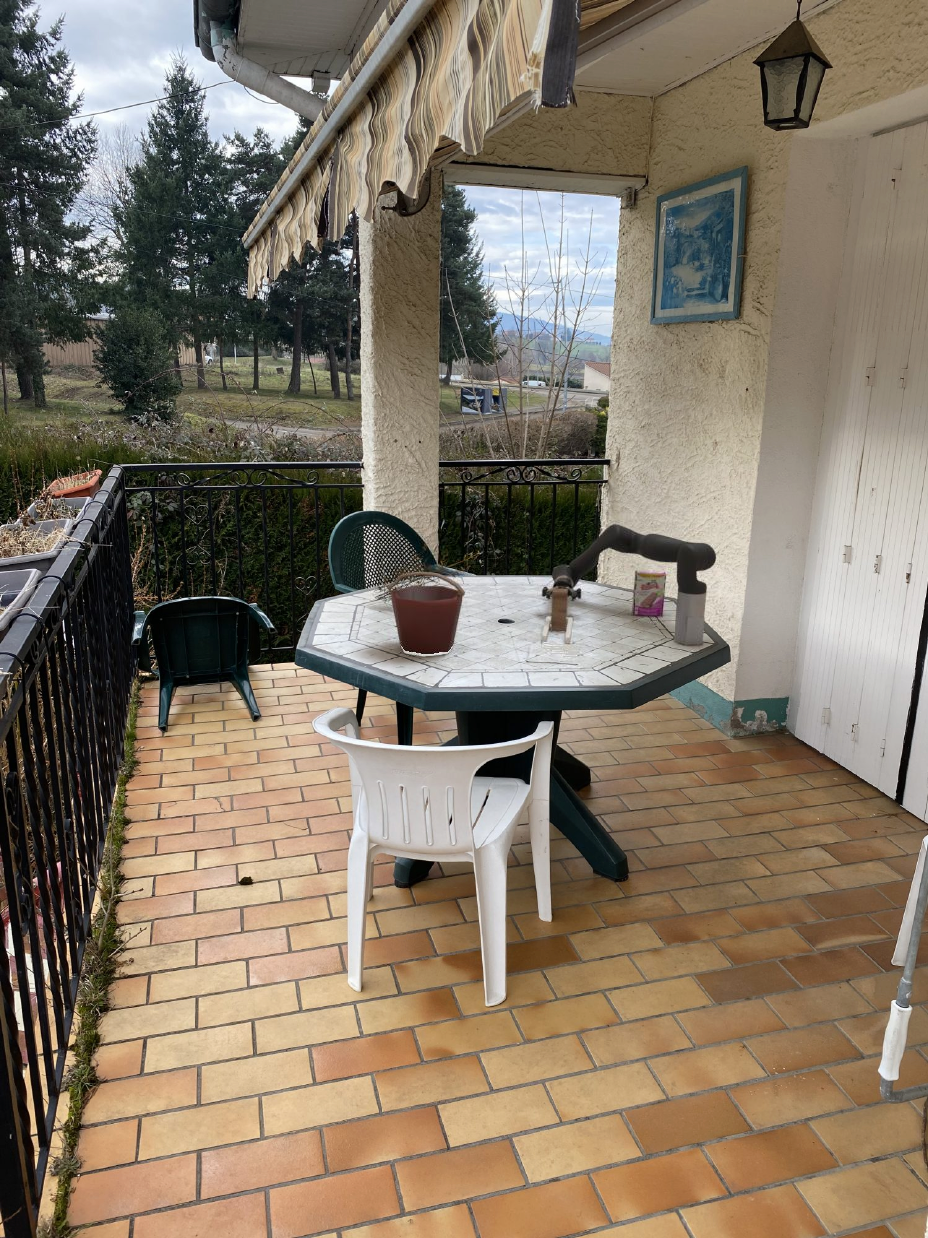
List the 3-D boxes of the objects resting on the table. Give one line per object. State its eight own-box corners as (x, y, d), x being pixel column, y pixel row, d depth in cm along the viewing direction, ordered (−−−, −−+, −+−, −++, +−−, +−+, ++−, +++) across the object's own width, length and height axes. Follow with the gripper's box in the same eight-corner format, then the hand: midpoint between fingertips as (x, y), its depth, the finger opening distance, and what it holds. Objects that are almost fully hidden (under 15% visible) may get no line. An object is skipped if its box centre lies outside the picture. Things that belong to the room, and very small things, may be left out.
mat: (531, 643, 296) (531, 642, 296) (580, 646, 294) (580, 645, 294) (526, 661, 277) (526, 660, 277) (578, 664, 275) (578, 663, 274)
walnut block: (551, 627, 316) (553, 588, 312) (566, 628, 315) (567, 589, 311) (550, 631, 311) (552, 591, 307) (565, 631, 310) (567, 592, 307)
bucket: (376, 652, 284) (375, 575, 277) (408, 635, 303) (408, 563, 297) (446, 663, 274) (447, 583, 268) (475, 644, 294) (476, 570, 287)
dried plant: (346, 567, 324) (457, 521, 310) (377, 558, 354) (479, 516, 340) (377, 645, 326) (489, 603, 312) (405, 630, 356) (508, 591, 342)
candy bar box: (632, 616, 332) (635, 572, 328) (631, 612, 337) (634, 569, 333) (663, 617, 331) (666, 573, 327) (661, 613, 336) (665, 570, 332)
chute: (546, 623, 321) (546, 616, 320) (572, 624, 319) (572, 617, 319) (541, 643, 296) (542, 635, 296) (569, 644, 295) (570, 637, 294)
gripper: (544, 576, 337) (541, 586, 321) (582, 578, 335) (581, 588, 319) (543, 595, 339) (540, 606, 323) (581, 597, 337) (580, 608, 321)
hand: (560, 597), depth 321 cm, fingers open, 8 cm apart
